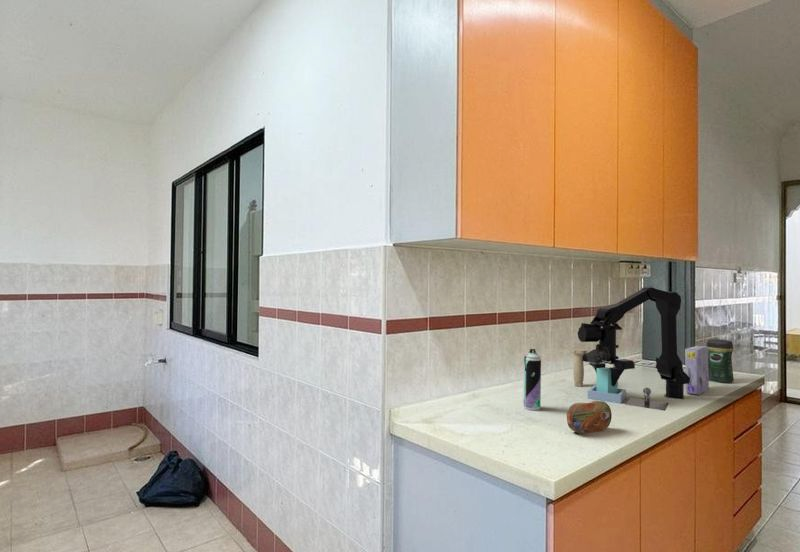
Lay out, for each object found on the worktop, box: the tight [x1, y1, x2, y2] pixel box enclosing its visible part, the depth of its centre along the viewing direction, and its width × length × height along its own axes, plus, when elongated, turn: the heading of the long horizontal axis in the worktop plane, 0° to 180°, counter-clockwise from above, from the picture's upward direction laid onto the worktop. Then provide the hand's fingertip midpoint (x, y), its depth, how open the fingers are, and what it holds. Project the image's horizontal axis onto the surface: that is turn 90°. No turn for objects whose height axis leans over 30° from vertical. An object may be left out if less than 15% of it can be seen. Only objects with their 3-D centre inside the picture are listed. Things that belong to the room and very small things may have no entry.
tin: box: [566, 400, 613, 435], centre depth 130 cm, size 15×3×8 cm, turn 114°
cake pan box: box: [684, 345, 710, 396], centre depth 183 cm, size 19×5×18 cm, turn 135°
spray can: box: [523, 348, 542, 411], centre depth 153 cm, size 6×6×20 cm
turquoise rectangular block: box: [596, 366, 619, 394], centre depth 167 cm, size 5×5×9 cm
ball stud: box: [625, 387, 669, 412], centre depth 159 cm, size 12×12×6 cm
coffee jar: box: [706, 338, 734, 384], centre depth 203 cm, size 10×8×19 cm
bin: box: [587, 384, 627, 404], centre depth 166 cm, size 11×11×4 cm
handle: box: [570, 347, 588, 387], centre depth 189 cm, size 5×6×15 cm
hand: (607, 384), depth 167 cm, fingers open, 5 cm apart
